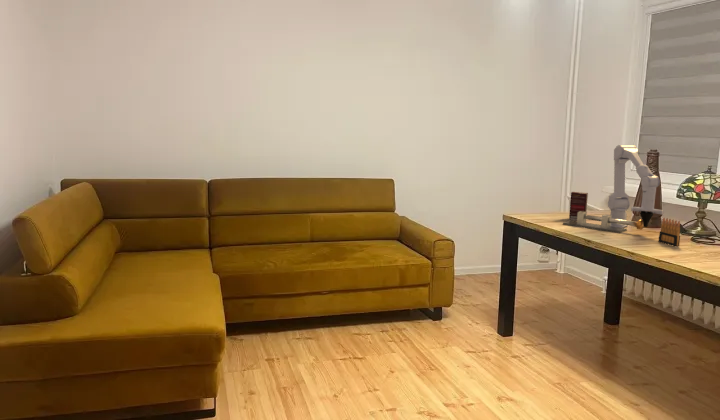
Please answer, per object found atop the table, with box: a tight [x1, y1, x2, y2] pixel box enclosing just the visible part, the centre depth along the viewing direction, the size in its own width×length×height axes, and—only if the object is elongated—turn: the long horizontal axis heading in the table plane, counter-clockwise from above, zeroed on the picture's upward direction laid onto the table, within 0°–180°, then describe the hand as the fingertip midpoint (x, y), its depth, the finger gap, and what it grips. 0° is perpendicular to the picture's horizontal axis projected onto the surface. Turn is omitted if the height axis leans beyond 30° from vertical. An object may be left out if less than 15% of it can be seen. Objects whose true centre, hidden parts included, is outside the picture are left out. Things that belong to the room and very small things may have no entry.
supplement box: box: [568, 191, 589, 221], centre depth 317 cm, size 9×5×16 cm, turn 58°
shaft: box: [586, 214, 644, 231], centre depth 288 cm, size 5×28×5 cm, turn 46°
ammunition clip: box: [658, 217, 681, 247], centre depth 258 cm, size 11×2×12 cm, turn 15°
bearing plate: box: [562, 211, 628, 234], centre depth 295 cm, size 10×30×8 cm, turn 46°
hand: (645, 226), depth 277 cm, fingers closed
